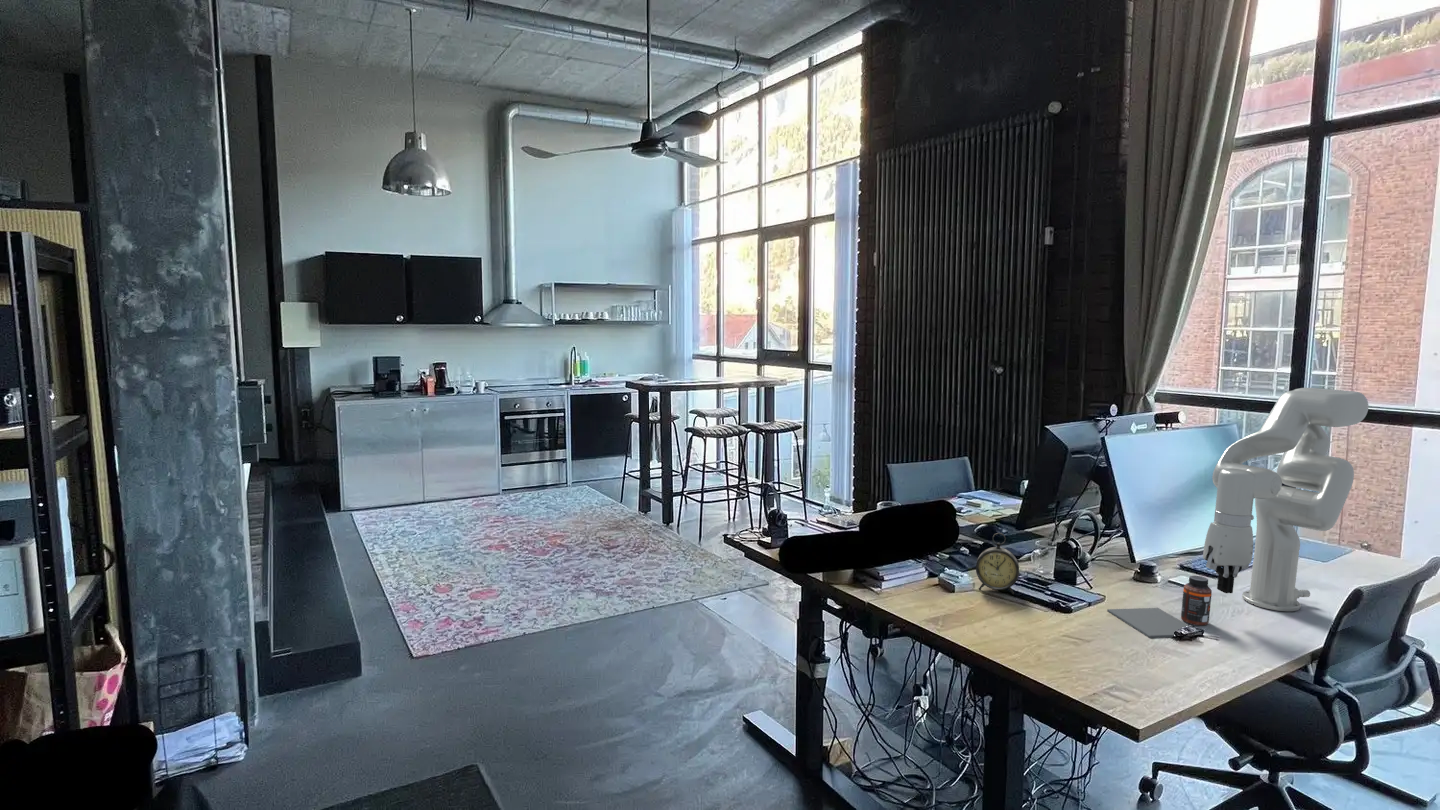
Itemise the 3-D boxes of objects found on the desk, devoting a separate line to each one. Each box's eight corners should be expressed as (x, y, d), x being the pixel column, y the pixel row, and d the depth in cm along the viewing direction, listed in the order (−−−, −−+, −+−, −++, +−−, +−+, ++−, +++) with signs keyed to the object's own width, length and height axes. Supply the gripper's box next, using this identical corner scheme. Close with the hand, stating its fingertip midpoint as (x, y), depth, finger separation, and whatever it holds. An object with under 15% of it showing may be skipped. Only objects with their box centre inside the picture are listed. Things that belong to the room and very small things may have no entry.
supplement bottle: (1212, 627, 188) (1217, 583, 186) (1185, 625, 189) (1190, 580, 187) (1202, 618, 194) (1207, 574, 192) (1176, 615, 195) (1181, 572, 193)
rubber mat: (1157, 609, 199) (1157, 607, 199) (1203, 635, 183) (1203, 633, 183) (1107, 611, 197) (1107, 609, 197) (1149, 637, 181) (1149, 635, 181)
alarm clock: (974, 590, 210) (977, 533, 207) (975, 584, 214) (979, 527, 212) (1017, 597, 205) (1021, 538, 203) (1017, 590, 210) (1021, 532, 208)
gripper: (1247, 515, 193) (1240, 585, 196) (1193, 515, 192) (1186, 586, 194) (1272, 523, 186) (1264, 596, 188) (1216, 524, 184) (1208, 597, 186)
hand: (1224, 591), depth 191 cm, fingers closed
